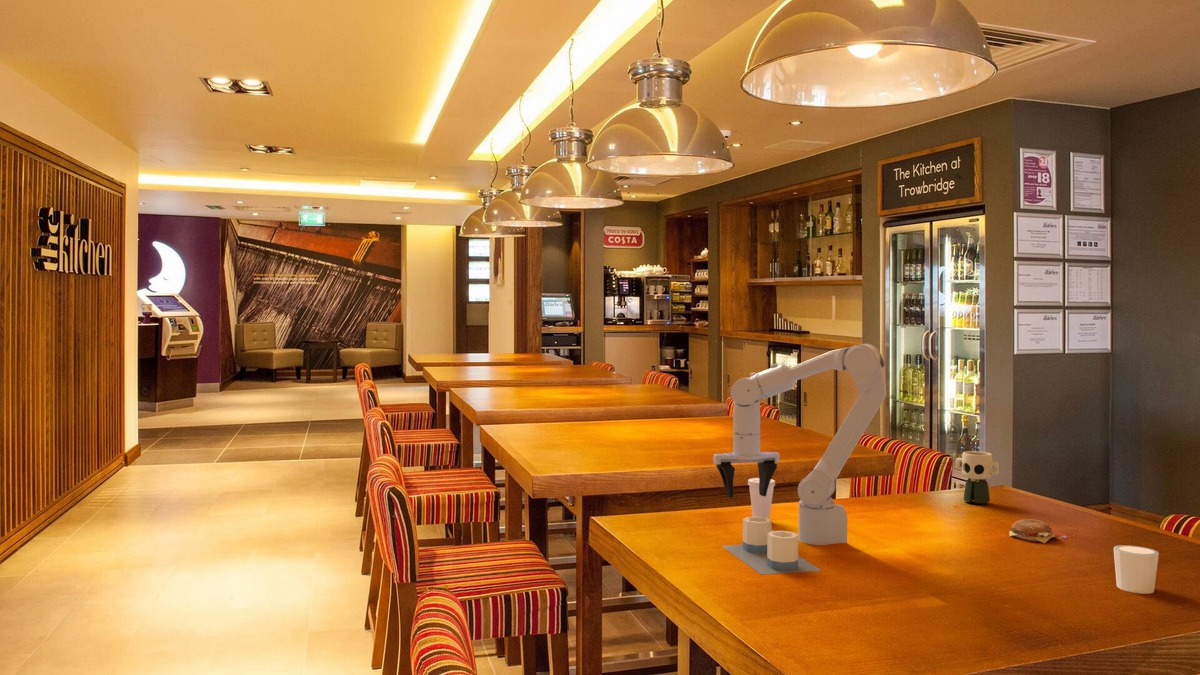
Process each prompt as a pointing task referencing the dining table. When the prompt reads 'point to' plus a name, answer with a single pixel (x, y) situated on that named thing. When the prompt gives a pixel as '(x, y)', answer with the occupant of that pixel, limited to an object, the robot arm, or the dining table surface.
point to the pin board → (760, 561)
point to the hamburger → (1033, 531)
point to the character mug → (977, 474)
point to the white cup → (1135, 568)
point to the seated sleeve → (782, 550)
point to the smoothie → (760, 498)
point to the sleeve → (756, 534)
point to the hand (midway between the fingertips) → (746, 496)
